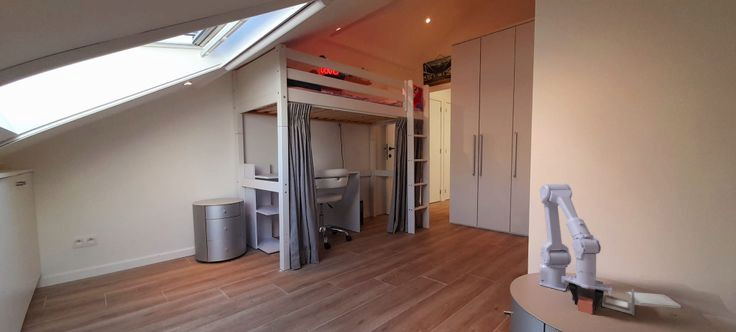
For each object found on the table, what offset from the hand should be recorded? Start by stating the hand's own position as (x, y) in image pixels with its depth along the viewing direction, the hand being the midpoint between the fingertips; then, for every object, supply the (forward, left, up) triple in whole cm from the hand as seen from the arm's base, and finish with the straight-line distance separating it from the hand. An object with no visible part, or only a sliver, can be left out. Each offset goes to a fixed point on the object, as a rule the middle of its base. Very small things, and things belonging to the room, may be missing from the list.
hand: (585, 306), depth 103 cm
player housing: (0, +10, -1) cm, 10 cm away
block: (0, 0, -2) cm, 2 cm away
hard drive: (+18, +23, -2) cm, 29 cm away
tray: (+8, +10, -1) cm, 13 cm away
